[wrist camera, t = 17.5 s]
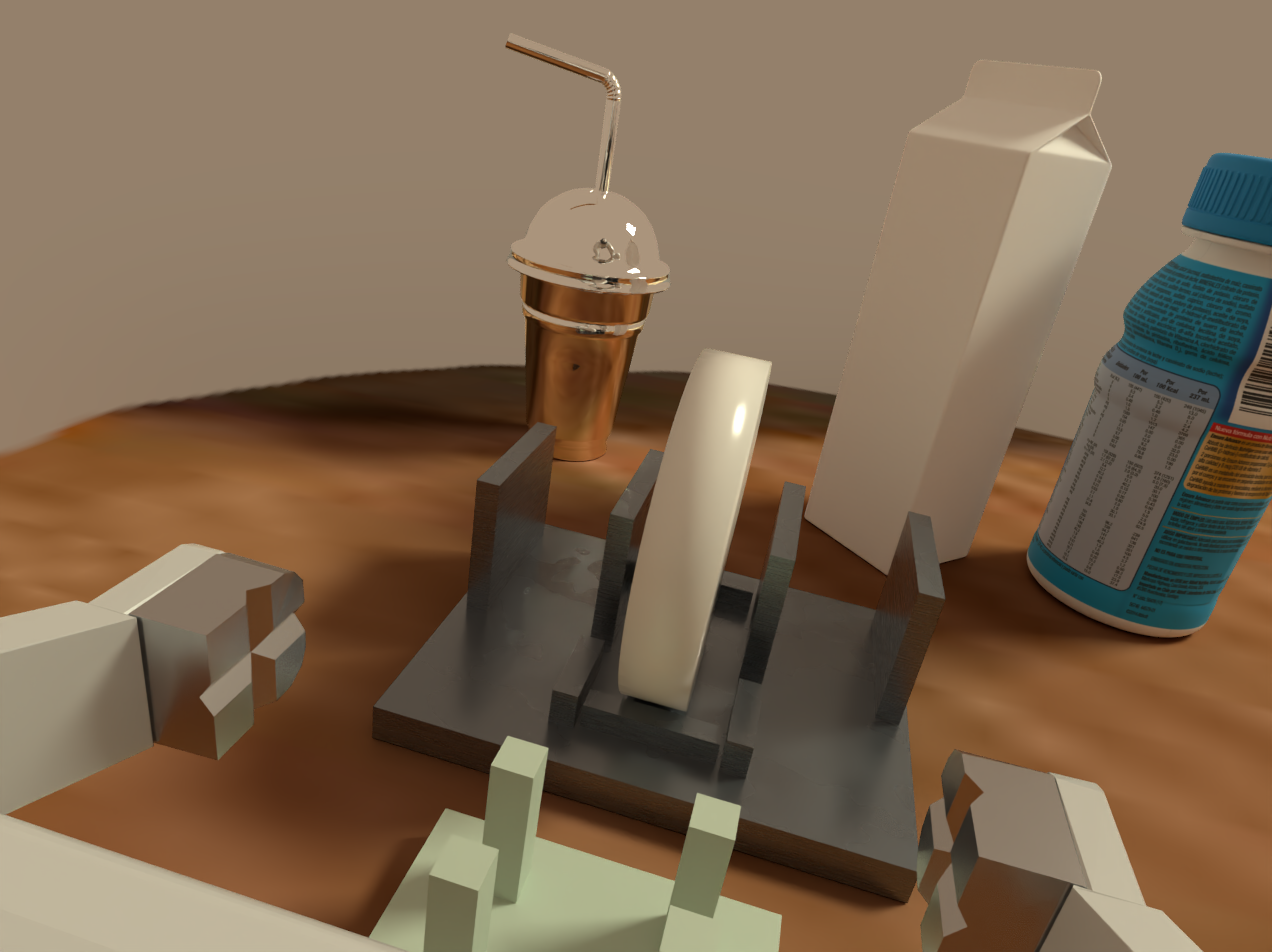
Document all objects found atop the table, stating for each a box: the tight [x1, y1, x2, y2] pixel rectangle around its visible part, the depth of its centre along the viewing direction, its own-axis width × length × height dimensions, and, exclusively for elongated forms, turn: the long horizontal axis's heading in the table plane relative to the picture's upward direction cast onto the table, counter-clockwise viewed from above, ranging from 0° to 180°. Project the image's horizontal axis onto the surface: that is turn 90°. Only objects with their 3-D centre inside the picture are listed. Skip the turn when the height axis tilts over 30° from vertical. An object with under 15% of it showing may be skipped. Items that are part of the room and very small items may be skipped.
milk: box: [804, 60, 1112, 575], centre depth 39 cm, size 6×6×22 cm
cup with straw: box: [505, 33, 671, 461], centre depth 44 cm, size 8×9×20 cm
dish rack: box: [372, 422, 945, 903], centre depth 29 cm, size 16×13×6 cm
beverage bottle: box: [1027, 153, 1272, 637], centre depth 37 cm, size 8×8×20 cm
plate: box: [618, 348, 772, 712], centre depth 27 cm, size 2×11×11 cm, turn 167°
